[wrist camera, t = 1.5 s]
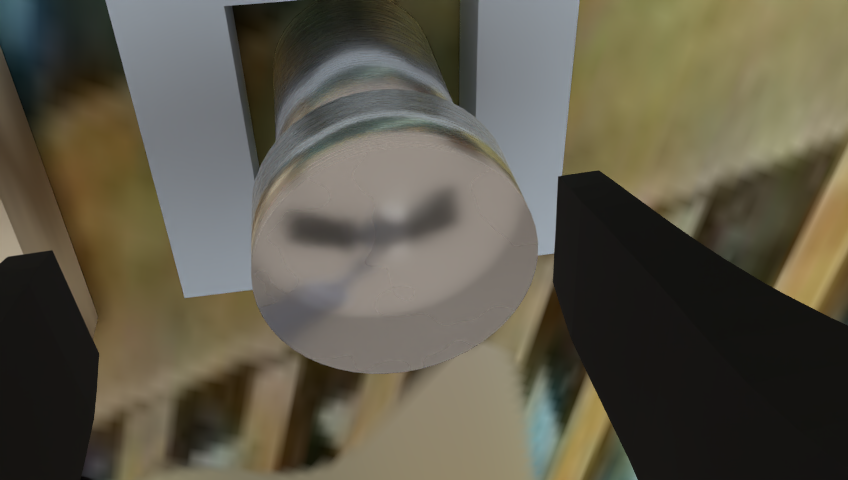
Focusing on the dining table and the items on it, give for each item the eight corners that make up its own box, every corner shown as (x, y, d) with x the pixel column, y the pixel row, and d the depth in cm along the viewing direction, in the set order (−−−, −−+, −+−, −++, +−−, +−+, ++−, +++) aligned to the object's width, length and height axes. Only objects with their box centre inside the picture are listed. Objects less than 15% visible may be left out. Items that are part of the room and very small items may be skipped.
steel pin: (451, 147, 22) (529, 355, 16) (267, 166, 22) (271, 389, 15) (451, -36, 19) (548, 132, 13) (236, -19, 18) (228, 165, 12)
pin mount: (534, 211, 24) (553, 253, 22) (189, 251, 23) (184, 298, 21) (563, -157, 18) (593, -136, 16) (94, -130, 17) (77, -104, 15)
